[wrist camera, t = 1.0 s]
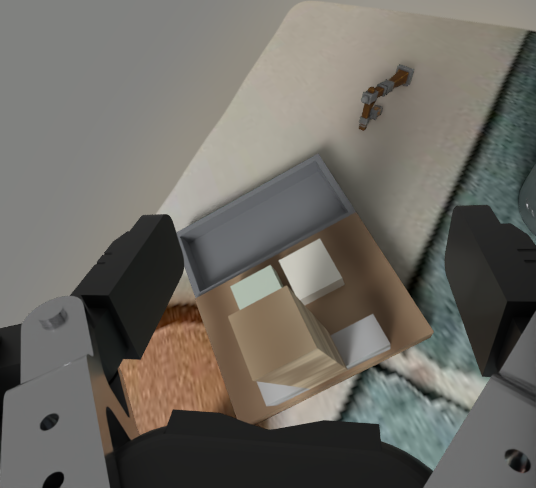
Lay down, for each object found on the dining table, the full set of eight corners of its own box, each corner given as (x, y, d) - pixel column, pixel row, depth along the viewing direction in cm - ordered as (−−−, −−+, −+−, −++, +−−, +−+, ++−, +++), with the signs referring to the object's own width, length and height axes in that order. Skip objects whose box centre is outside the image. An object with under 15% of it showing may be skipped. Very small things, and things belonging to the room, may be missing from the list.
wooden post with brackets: (349, 129, 41) (356, 89, 37) (389, 101, 44) (399, 62, 41) (363, 136, 40) (372, 96, 36) (403, 106, 44) (414, 67, 40)
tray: (322, 166, 41) (318, 153, 39) (359, 224, 37) (357, 213, 35) (184, 243, 42) (173, 234, 40) (207, 306, 39) (196, 300, 36)
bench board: (358, 225, 37) (355, 212, 34) (430, 337, 32) (433, 331, 29) (208, 305, 39) (194, 298, 36) (252, 426, 33) (240, 428, 31)
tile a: (323, 246, 34) (319, 238, 32) (344, 284, 32) (342, 277, 31) (284, 267, 34) (278, 260, 33) (303, 306, 33) (298, 300, 31)
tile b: (276, 271, 35) (270, 264, 33) (295, 310, 33) (289, 305, 31) (238, 292, 35) (230, 286, 33) (254, 331, 33) (246, 327, 31)
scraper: (372, 318, 31) (357, 247, 17) (392, 352, 29) (394, 308, 15) (264, 373, 32) (161, 351, 17) (278, 409, 30) (180, 417, 16)
